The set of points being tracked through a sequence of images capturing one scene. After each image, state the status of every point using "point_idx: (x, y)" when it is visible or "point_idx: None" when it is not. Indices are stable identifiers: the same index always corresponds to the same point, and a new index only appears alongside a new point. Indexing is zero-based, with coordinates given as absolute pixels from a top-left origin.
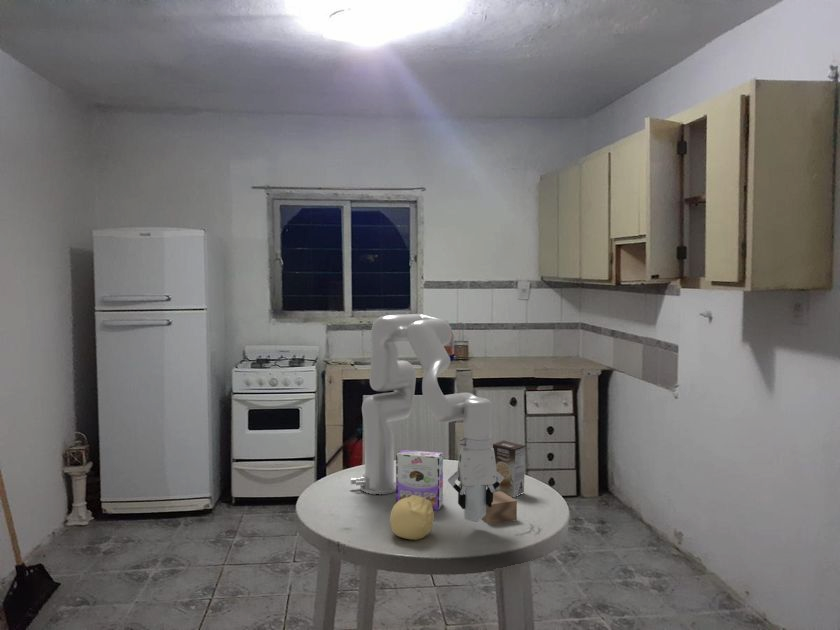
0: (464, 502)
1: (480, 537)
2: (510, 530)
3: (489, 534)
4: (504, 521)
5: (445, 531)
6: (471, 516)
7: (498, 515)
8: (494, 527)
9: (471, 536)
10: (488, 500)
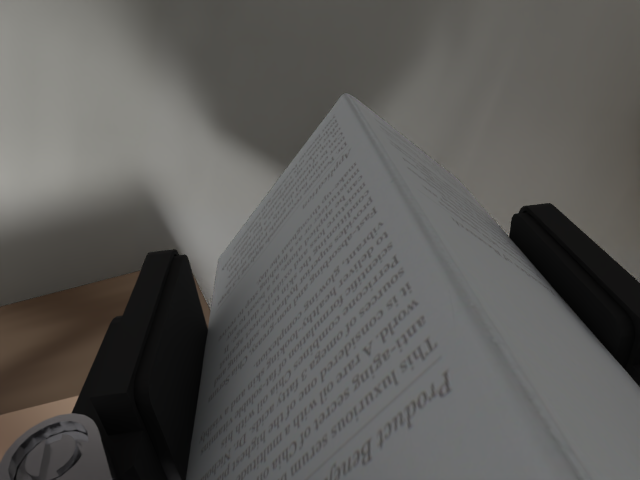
0: (576, 248)
1: (312, 15)
2: (12, 136)
3: (216, 73)
4: (59, 294)
5: (541, 176)
6: (416, 147)
7: (94, 317)
8: (151, 208)
9: (384, 51)
10: (177, 316)
